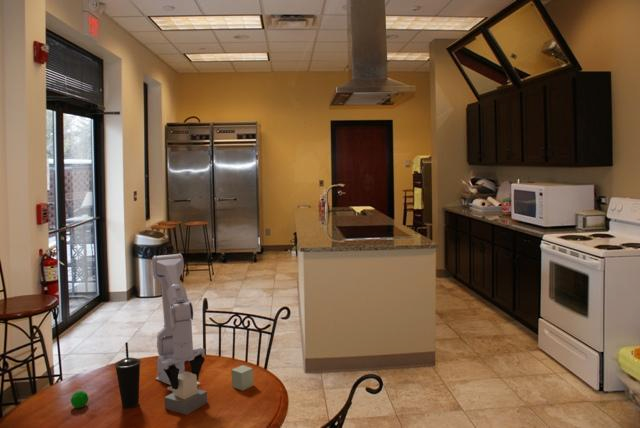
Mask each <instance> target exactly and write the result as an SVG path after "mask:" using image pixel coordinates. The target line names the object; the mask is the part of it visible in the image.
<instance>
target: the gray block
mask: <svg viewBox="0 0 640 428" xmlns="http://www.w3.org/2000/svg"><path fill="white" fill-rule="evenodd" d="M163 400H164V409H166V410H168V411H172V412H174V413H175V412H176V413H179V414H181V415H189V414H191V413H192V412H194V411H196V410H197V409H199V408H200V407H203V406H205V405H206V404H207V403H208V391H207V390H202V389H198V388H197V394H195V395H193V396H191V397H188V398H186V399H182V398H180V397H177V396H175V395H174V392H171V393H170V394H168V395H166V396H165V397H164V399H163Z"/></svg>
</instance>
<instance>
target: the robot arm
mask: <svg viewBox="0 0 640 428" xmlns="http://www.w3.org/2000/svg"><path fill="white" fill-rule="evenodd" d="M151 263H152V275H153V278H154V280H157V281H159V284H160V286H161V298H162V311H163V313H162V314H163V324H164V325H165V327H164V325H163V328H162V329H161V330H160V331H158V332H157V334H156V348H157V349H156V350H157V354H158V357H157V361H156V367H157V377H156V378H155V379H156V380H157V381H160V382H162V383H164V384H166V385H170V386H172V388H173V389H175V390H176V389H178V374H180V373H183V372H185V371H186V370H185V369H186V368H185V363H186V362H187V361H188V362H189V365H190V369H191V371H190V373H193V374H196V376H197V382H199V378H200V374H201V373H200V372H201V369H202V366H203V364H204V363H205V357H204V356H205V355H206V354H205V348H202V347H198V348H195V349H194V347H193V346H194V343H193V324H192V321H193V320H194V309H193V308H194V307H193V304H192V301H191V299H189V298H188V295H187V290H186V287H185V286H183V285H182V284H181V280H180V279H181V278H180V277H181V276H182V273H183V271H184V269H185V268H184V266H185V263H184V257H183V254H181V253H176V254H175V253H174V254H173V253H172V254H165V255H164V254H163V255H153V256H152V258H151ZM169 335H173V336H169ZM165 336H168V337H165ZM185 361H186V362H185ZM184 362H185V363H184Z"/></svg>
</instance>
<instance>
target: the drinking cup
mask: <svg viewBox="0 0 640 428" xmlns="http://www.w3.org/2000/svg"><path fill="white" fill-rule="evenodd" d="M124 344H125V356H126V357H124V358H122V359H120V360H118V361H116V362H115V363H114V368H115V371H116V376H117V384H118V389H119V395H120V400H121V401H120V402H121V406H122V408H124V409H130V408H131V409H132V408H135V407H137V406H139V399H140V376H141V375H140V373H141V372H140V370H141V363H142V360H141V359H140V358H135V357H129V343H128V342H127V341H126V342H125V343H124Z"/></svg>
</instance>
